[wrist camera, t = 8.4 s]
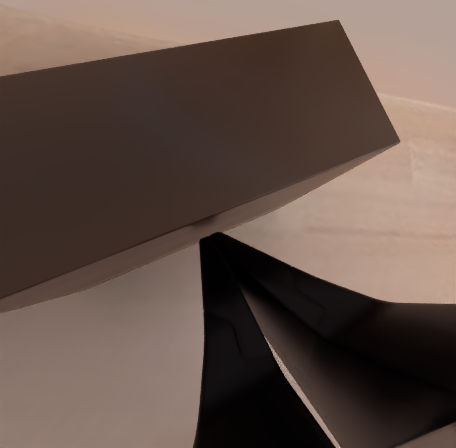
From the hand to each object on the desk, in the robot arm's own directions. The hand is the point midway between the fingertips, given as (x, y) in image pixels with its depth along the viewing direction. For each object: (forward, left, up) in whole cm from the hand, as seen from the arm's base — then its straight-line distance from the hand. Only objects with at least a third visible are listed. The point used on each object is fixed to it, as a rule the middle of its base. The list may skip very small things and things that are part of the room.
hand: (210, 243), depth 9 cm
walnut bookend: (+6, -3, -7) cm, 9 cm away
